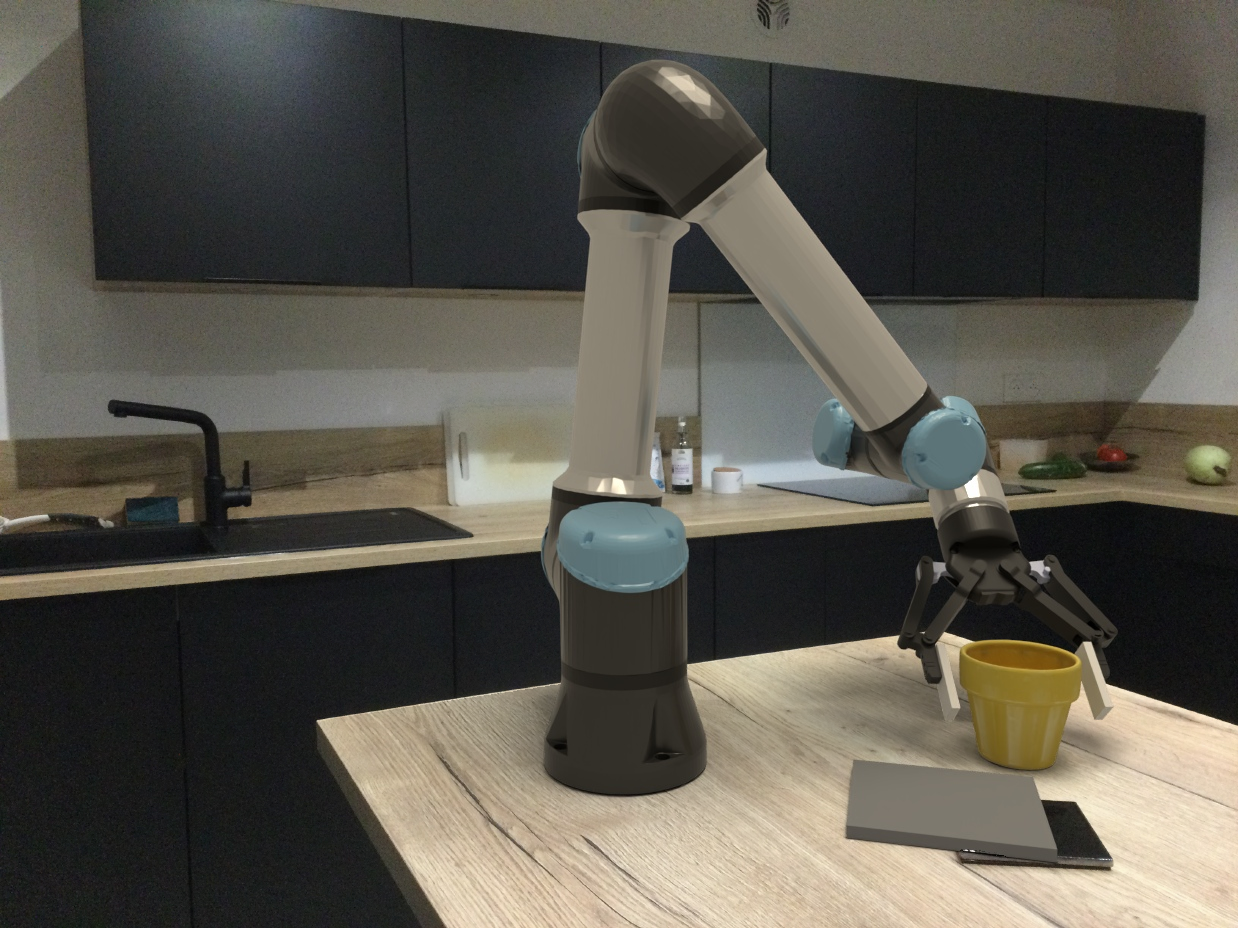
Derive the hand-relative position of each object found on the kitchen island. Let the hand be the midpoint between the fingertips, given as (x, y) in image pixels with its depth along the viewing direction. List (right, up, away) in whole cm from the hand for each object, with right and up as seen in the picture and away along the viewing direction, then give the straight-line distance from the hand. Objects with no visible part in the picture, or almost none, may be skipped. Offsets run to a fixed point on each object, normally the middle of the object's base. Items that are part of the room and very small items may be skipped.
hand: (1028, 714), depth 87 cm
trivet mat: (-10, -6, -8) cm, 15 cm away
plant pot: (0, -5, +3) cm, 5 cm away
